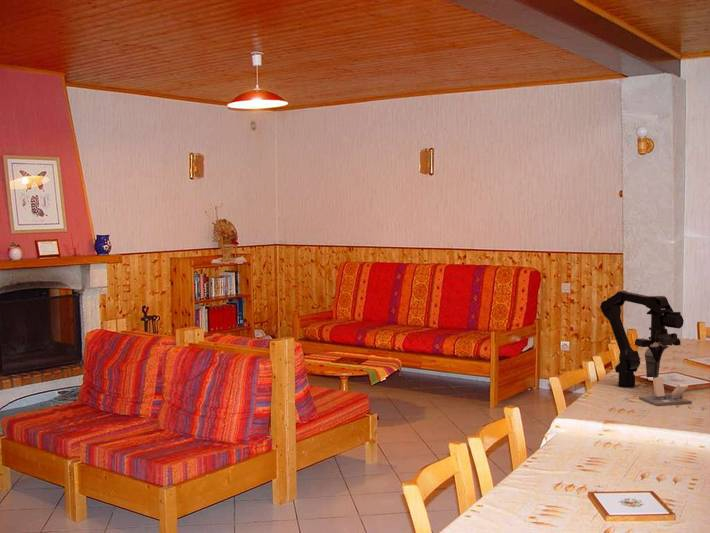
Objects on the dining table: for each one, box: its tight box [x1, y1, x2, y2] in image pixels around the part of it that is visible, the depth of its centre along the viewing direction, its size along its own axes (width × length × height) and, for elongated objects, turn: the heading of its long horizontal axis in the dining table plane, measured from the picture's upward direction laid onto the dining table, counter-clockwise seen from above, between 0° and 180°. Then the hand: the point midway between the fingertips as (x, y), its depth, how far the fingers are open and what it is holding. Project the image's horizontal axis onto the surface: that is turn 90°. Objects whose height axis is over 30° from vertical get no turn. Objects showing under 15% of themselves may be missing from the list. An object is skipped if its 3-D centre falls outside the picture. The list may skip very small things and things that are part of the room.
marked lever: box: [670, 382, 689, 397], centre depth 334 cm, size 1×4×8 cm
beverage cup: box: [644, 347, 662, 378], centre depth 374 cm, size 7×7×20 cm
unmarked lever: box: [652, 376, 666, 398], centre depth 336 cm, size 1×4×8 cm, turn 104°
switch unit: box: [638, 393, 693, 407], centre depth 336 cm, size 12×16×3 cm
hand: (657, 362), depth 351 cm, fingers closed
